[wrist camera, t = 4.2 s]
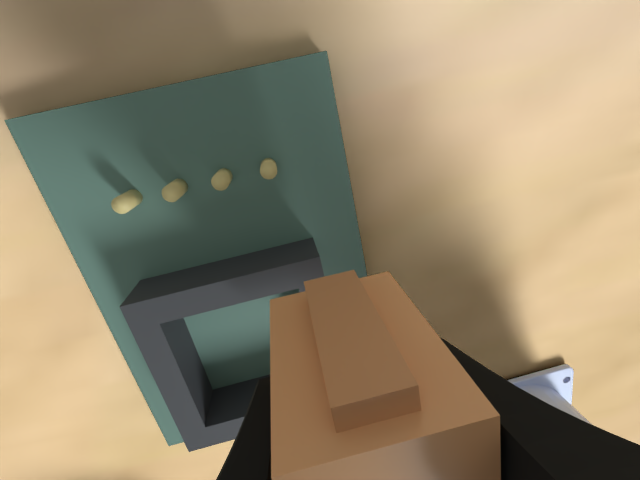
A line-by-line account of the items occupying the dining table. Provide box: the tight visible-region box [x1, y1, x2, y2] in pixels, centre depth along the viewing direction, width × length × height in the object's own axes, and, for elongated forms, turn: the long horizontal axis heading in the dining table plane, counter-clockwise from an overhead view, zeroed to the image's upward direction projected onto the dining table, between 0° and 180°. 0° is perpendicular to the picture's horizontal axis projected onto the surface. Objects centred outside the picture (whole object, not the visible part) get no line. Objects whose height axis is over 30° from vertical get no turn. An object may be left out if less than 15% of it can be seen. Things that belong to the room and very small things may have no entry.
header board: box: [5, 51, 367, 452], centre depth 17 cm, size 18×13×4 cm
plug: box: [270, 270, 501, 480], centre depth 9 cm, size 5×4×6 cm
